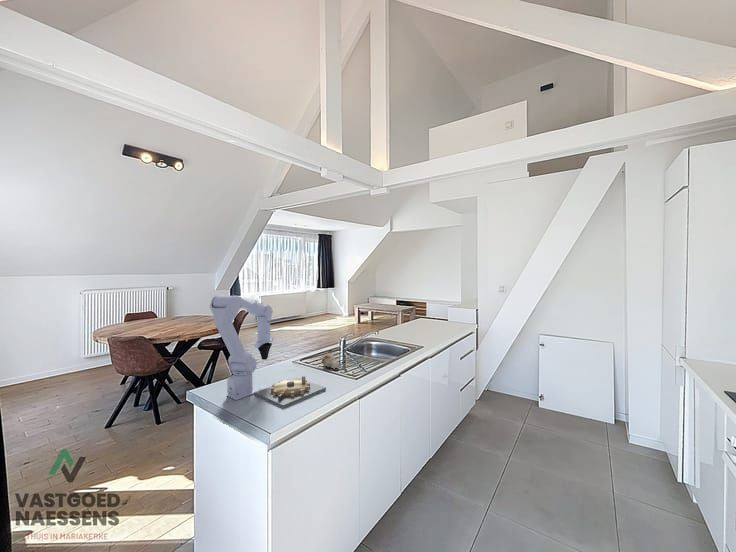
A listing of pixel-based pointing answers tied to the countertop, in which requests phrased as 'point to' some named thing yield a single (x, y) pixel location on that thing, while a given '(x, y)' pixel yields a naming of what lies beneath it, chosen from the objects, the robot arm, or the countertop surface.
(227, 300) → the robot arm
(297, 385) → the sprocket
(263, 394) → the base board
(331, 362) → the beige rounded lump
